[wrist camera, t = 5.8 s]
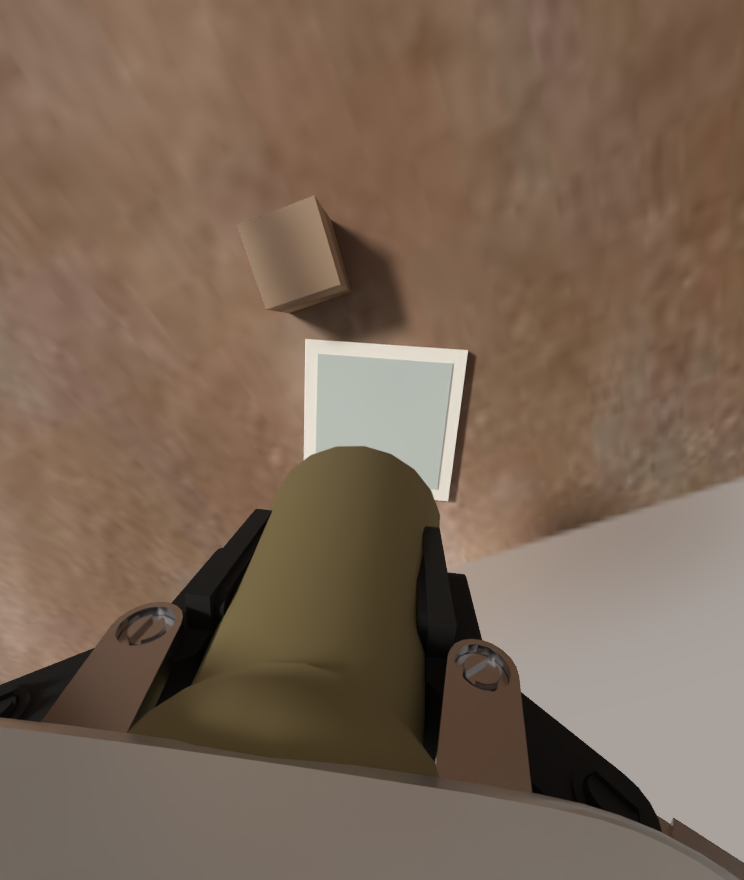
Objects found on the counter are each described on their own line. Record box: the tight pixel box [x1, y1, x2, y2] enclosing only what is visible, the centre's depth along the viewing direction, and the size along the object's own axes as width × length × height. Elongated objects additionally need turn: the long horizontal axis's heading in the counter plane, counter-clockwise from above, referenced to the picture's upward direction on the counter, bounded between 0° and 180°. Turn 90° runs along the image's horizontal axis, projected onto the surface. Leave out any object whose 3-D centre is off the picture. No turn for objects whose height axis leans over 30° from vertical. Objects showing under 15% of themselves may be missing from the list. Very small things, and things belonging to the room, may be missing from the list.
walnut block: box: [237, 196, 352, 313], centre depth 25 cm, size 5×5×5 cm
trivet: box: [304, 339, 468, 501], centre depth 30 cm, size 12×12×1 cm
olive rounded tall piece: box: [127, 446, 440, 777], centre depth 8 cm, size 6×6×11 cm
